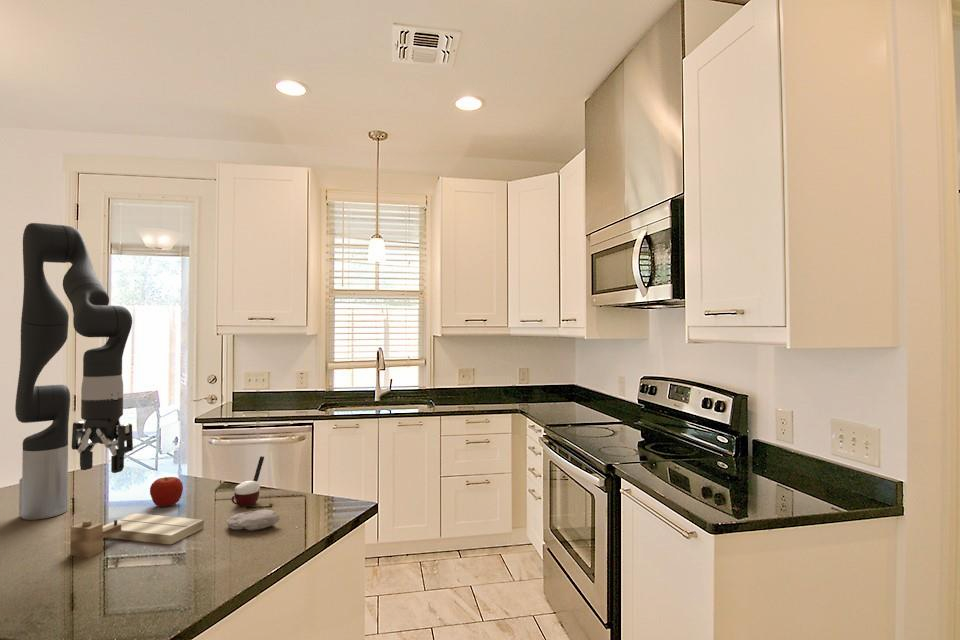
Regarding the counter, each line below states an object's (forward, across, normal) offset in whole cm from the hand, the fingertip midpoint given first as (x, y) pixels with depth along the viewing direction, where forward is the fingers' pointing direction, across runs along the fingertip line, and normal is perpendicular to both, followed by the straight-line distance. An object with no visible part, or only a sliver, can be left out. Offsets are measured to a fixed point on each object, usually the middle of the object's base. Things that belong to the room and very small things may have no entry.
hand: (101, 470), depth 117 cm
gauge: (+17, -1, +1) cm, 17 cm away
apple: (+17, -10, +28) cm, 34 cm away
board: (+17, +2, +11) cm, 20 cm away
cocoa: (+17, +10, +34) cm, 40 cm away
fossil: (+18, +23, +20) cm, 35 cm away
